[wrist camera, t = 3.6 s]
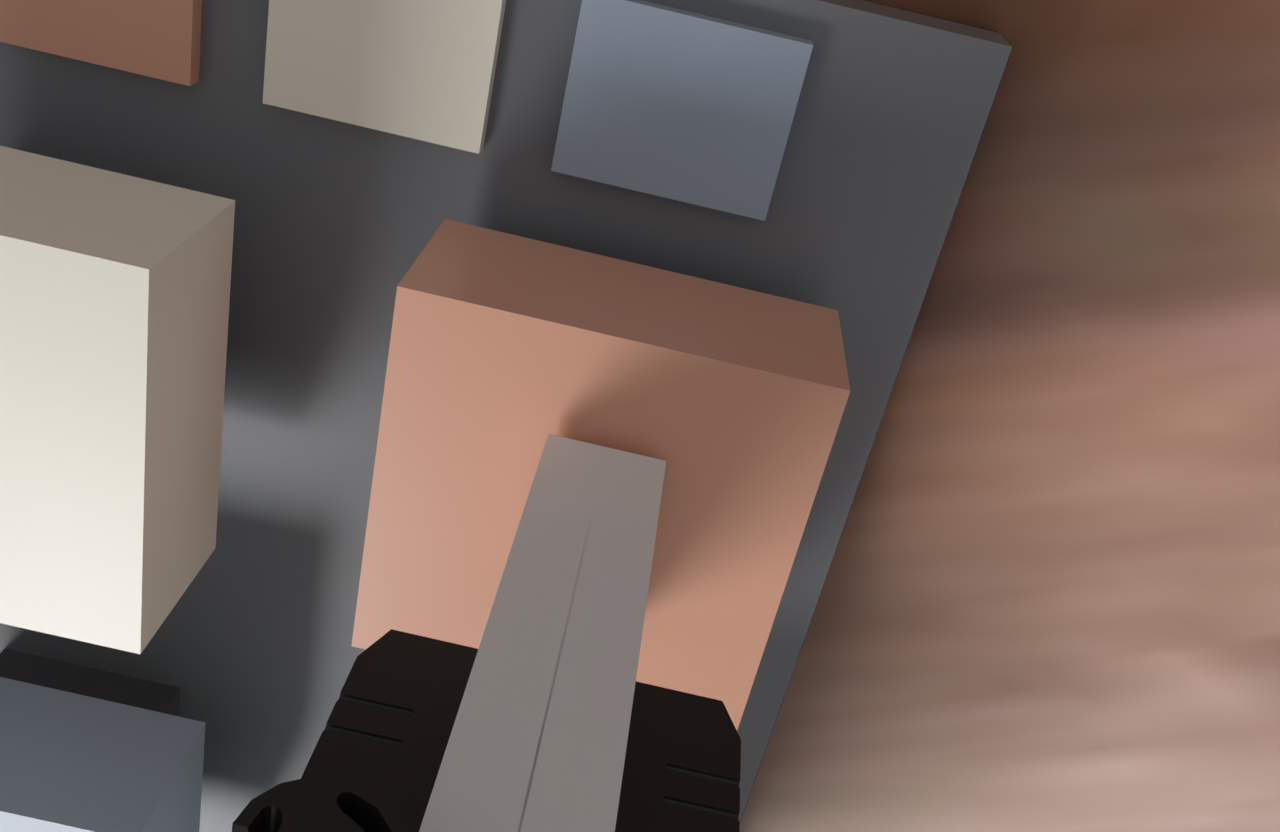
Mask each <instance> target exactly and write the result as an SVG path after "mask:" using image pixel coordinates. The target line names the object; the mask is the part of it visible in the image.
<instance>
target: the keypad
mask: <svg viewBox="0 0 1280 832" xmlns="http://www.w3.org/2000/svg"><path fill="white" fill-rule="evenodd" d="M1011 49H1012V46H1011V45H1010V44H1009V43H1008V42H1007V41H1006V40H1005V39H1004V37H1003V36H1002V35H1001V34H1000V33H998V32H994V31H990V30H986V29H982V28H978V27H973V26H969V25H965V24H961V23H957V22H952V21H948V20H944V19H940V18H936V17H932V16H927V15H923V14H919V13H915V12H911V11H906V10H902V9H898V8H894V7H890V6H886V5H881V4H877V3H873V2H869V1H865V0H0V146H4V147H9V148H13V149H17V150H21V151H26V152H30V153H34V154H39V155H43V156H47V157H52V158H56V159H60V160H65V161H69V162H73V163H77V164H82V165H86V166H90V167H95V168H99V169H103V170H108V171H112V172H116V173H120V174H125V175H129V176H133V177H138V178H142V179H146V180H151V181H155V182H159V183H163V184H168V185H172V186H176V187H181V188H185V189H189V190H194V191H198V192H202V193H207V194H211V195H215V196H219V197H224V198H228V199H232V200H235V215H234V232H233V250H232V267H231V285H230V303H229V320H228V338H227V355H226V373H225V391H224V408H223V426H222V443H221V461H220V478H219V496H218V514H217V531H216V548H215V550H214V551H213V552H212V554H211V555H210V557H209V558H208V560H207V561H206V562H205V564H204V565H203V567H202V568H201V569H200V571H199V572H198V574H197V575H196V577H195V578H194V579H193V581H192V582H191V584H190V585H189V586H188V588H187V589H186V591H185V592H184V593H183V595H182V596H181V598H180V599H179V601H178V602H177V603H176V605H175V606H174V608H173V609H172V610H171V612H170V613H169V615H168V616H167V618H166V619H165V620H164V622H163V623H162V625H161V626H160V627H159V629H158V630H157V632H156V633H155V635H154V636H153V637H152V639H151V640H150V642H149V643H148V644H147V646H146V647H145V649H144V650H143V652H142V653H141V654H136V653H132V652H127V651H123V650H118V649H114V648H109V647H105V646H100V645H96V644H91V643H87V642H83V641H78V640H74V639H69V638H65V637H60V636H56V635H51V634H47V633H42V632H38V631H33V630H29V629H24V628H20V627H15V626H11V625H6V624H2V623H0V677H3V678H8V679H12V680H17V681H21V682H26V683H30V684H35V685H39V686H44V687H48V688H53V689H57V690H62V691H66V692H71V693H75V694H80V695H84V696H89V697H93V698H98V699H102V700H107V701H111V702H116V703H120V704H125V705H129V706H134V707H138V708H143V709H147V710H152V711H156V712H161V713H165V714H170V715H174V716H179V717H183V718H188V719H192V720H197V721H201V722H206V725H205V742H204V760H203V777H202V795H201V813H200V830H199V832H232V823H233V822H234V821H235V820H236V819H237V817H238V816H239V815H240V814H241V812H242V811H243V810H244V809H245V807H246V806H247V805H248V804H249V802H250V801H251V800H252V799H254V798H256V797H257V796H259V795H261V794H262V793H264V792H266V791H268V790H269V789H271V788H273V787H275V786H276V785H278V784H280V783H284V782H288V781H293V780H297V779H301V777H302V775H303V773H304V770H305V768H306V766H307V764H308V762H309V760H310V757H311V755H312V753H313V751H314V749H315V747H316V744H317V742H318V740H319V738H320V736H321V734H322V731H324V730H325V727H326V723H327V721H328V718H329V716H330V714H331V712H332V710H333V708H334V705H335V703H336V701H337V700H339V696H340V692H341V690H342V688H343V686H344V684H345V682H346V679H347V677H348V675H349V673H350V671H351V669H352V666H353V664H354V662H355V660H356V658H357V656H358V655H360V654H361V653H362V652H363V651H365V650H366V649H362V648H357V647H353V646H351V645H352V637H353V629H354V622H355V614H356V606H357V598H358V590H359V582H360V574H361V567H362V559H363V551H364V543H365V535H366V527H367V519H368V512H369V504H370V496H371V488H372V480H373V472H374V464H375V456H376V449H377V441H378V433H379V425H380V417H381V409H382V401H383V394H384V386H385V378H386V370H387V362H388V354H389V346H390V339H391V331H392V323H393V315H394V307H395V299H396V291H397V286H398V284H399V283H400V281H401V280H402V279H403V277H404V276H405V274H406V273H407V272H408V270H409V269H410V267H411V266H412V265H413V263H414V262H415V260H416V259H417V258H418V256H419V255H420V253H421V252H422V251H423V249H424V248H425V246H426V245H427V244H428V242H429V241H430V239H431V238H432V237H433V235H434V234H435V232H436V231H437V230H438V228H439V227H440V225H441V224H442V223H443V221H444V220H445V219H448V220H453V221H457V222H461V223H465V224H470V225H474V226H478V227H483V228H487V229H491V230H496V231H500V232H504V233H508V234H513V235H517V236H521V237H526V238H530V239H534V240H538V241H543V242H547V243H551V244H556V245H560V246H564V247H568V248H573V249H577V250H581V251H586V252H590V253H594V254H599V255H603V256H607V257H611V258H616V259H620V260H624V261H629V262H633V263H637V264H641V265H646V266H650V267H654V268H659V269H663V270H667V271H671V272H676V273H680V274H684V275H689V276H693V277H697V278H702V279H706V280H710V281H714V282H719V283H723V284H727V285H732V286H736V287H740V288H744V289H749V290H753V291H757V292H762V293H766V294H770V295H775V296H779V297H783V298H787V299H792V300H796V301H800V302H805V303H809V304H813V305H817V306H822V307H826V308H830V309H835V310H838V313H839V320H840V326H841V333H842V339H843V346H844V352H845V359H846V365H847V372H848V378H849V385H850V394H849V397H848V400H847V403H846V406H845V409H844V412H843V415H842V418H841V421H840V424H839V427H838V430H837V433H836V436H835V439H834V442H833V445H832V448H831V451H830V454H829V457H828V460H827V463H826V466H825V469H824V472H823V475H822V478H821V481H820V484H819V487H818V490H817V493H816V496H815V499H814V502H813V505H812V508H811V511H810V514H809V517H808V520H807V523H806V526H805V529H804V532H803V535H802V538H801V541H800V544H799V547H798V550H797V553H796V556H795V559H794V562H793V565H792V568H791V571H790V574H789V577H788V580H787V583H786V586H785V589H784V592H783V595H782V598H781V601H780V604H779V607H778V610H777V613H776V616H775V619H774V622H773V625H772V628H771V631H770V634H769V637H768V640H767V643H766V646H765V649H764V652H763V655H762V658H761V661H760V664H759V667H758V670H757V673H756V676H755V679H754V682H753V685H752V688H751V691H750V694H749V697H748V700H747V703H746V706H745V709H744V712H743V715H742V718H741V721H740V724H739V727H738V730H737V732H738V734H739V737H740V739H741V772H740V783H739V788H740V813H739V818H738V821H739V824H740V821H741V818H742V815H743V812H744V809H745V807H746V804H747V801H748V798H749V795H750V792H751V790H752V787H753V784H754V781H755V778H756V775H757V772H758V770H759V767H760V764H761V761H762V758H763V755H764V753H765V750H766V747H767V744H768V741H769V738H770V735H771V733H772V730H773V727H774V724H775V721H776V718H777V716H778V713H779V710H780V707H781V704H782V701H783V698H784V696H785V693H786V690H787V687H788V684H789V681H790V679H791V676H792V673H793V670H794V667H795V664H796V661H797V659H798V656H799V653H800V650H801V647H802V644H803V642H804V639H805V636H806V633H807V630H808V627H809V624H810V622H811V619H812V616H813V613H814V610H815V607H816V605H817V602H818V599H819V596H820V593H821V590H822V587H823V585H824V582H825V579H826V576H827V573H828V570H829V568H830V565H831V562H832V559H833V556H834V553H835V550H836V548H837V545H838V542H839V539H840V536H841V533H842V531H843V528H844V525H845V522H846V519H847V516H848V513H849V511H850V508H851V505H852V502H853V499H854V496H855V494H856V491H857V488H858V485H859V482H860V479H861V476H862V474H863V471H864V468H865V465H866V462H867V459H868V457H869V454H870V451H871V448H872V445H873V442H874V439H875V437H876V434H877V431H878V428H879V425H880V422H881V419H882V417H883V414H884V411H885V408H886V405H887V402H888V400H889V397H890V394H891V391H892V388H893V385H894V382H895V380H896V377H897V374H898V371H899V368H900V365H901V363H902V360H903V357H904V354H905V351H906V348H907V345H908V343H909V340H910V337H911V334H912V331H913V328H914V326H915V323H916V320H917V317H918V314H919V311H920V308H921V306H922V303H923V300H924V297H925V294H926V291H927V289H928V286H929V283H930V280H931V277H932V274H933V271H934V269H935V266H936V263H937V260H938V257H939V254H940V252H941V249H942V246H943V243H944V240H945V237H946V234H947V232H948V229H949V226H950V223H951V220H952V217H953V215H954V212H955V209H956V206H957V203H958V200H959V197H960V195H961V192H962V189H963V186H964V183H965V180H966V178H967V175H968V172H969V169H970V166H971V163H972V160H973V158H974V155H975V152H976V149H977V146H978V143H979V141H980V138H981V135H982V132H983V129H984V126H985V123H986V121H987V118H988V115H989V112H990V109H991V106H992V104H993V101H994V98H995V95H996V92H997V89H998V86H999V84H1000V81H1001V78H1002V75H1003V72H1004V69H1005V67H1006V64H1007V61H1008V58H1009V55H1010V52H1011Z"/></svg>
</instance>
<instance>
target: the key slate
mask: <svg viewBox="0 0 1280 832" xmlns="http://www.w3.org/2000/svg"><path fill="white" fill-rule="evenodd" d="M205 725H206V722H201V721H197V720H192V719H188V718H183V717H179V716H174V715H170V714H165V713H161V712H156V711H152V710H147V709H143V708H138V707H134V706H129V705H125V704H120V703H116V702H111V701H107V700H102V699H98V698H93V697H89V696H84V695H80V694H75V693H71V692H66V691H62V690H57V689H53V688H48V687H44V686H39V685H35V684H30V683H26V682H21V681H17V680H12V679H8V678H3V677H0V832H199V830H200V813H201V795H202V777H203V760H204V742H205Z"/></svg>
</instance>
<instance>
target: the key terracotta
mask: <svg viewBox="0 0 1280 832" xmlns="http://www.w3.org/2000/svg"><path fill="white" fill-rule="evenodd" d="M849 394H850V385H849V378H848V372H847V365H846V359H845V352H844V346H843V339H842V333H841V326H840V320H839V313H838V310H835V309H830V308H826V307H822V306H817V305H813V304H809V303H805V302H800V301H796V300H792V299H787V298H783V297H779V296H775V295H770V294H766V293H762V292H757V291H753V290H749V289H744V288H740V287H736V286H732V285H727V284H723V283H719V282H714V281H710V280H706V279H702V278H697V277H693V276H689V275H684V274H680V273H676V272H671V271H667V270H663V269H659V268H654V267H650V266H646V265H641V264H637V263H633V262H629V261H624V260H620V259H616V258H611V257H607V256H603V255H599V254H594V253H590V252H586V251H581V250H577V249H573V248H568V247H564V246H560V245H556V244H551V243H547V242H543V241H538V240H534V239H530V238H526V237H521V236H517V235H513V234H508V233H504V232H500V231H496V230H491V229H487V228H483V227H478V226H474V225H470V224H465V223H461V222H457V221H453V220H448V219H445V220H444V221H443V223H442V224H441V225H440V227H439V228H438V230H437V231H436V232H435V234H434V235H433V237H432V238H431V239H430V241H429V242H428V244H427V245H426V246H425V248H424V249H423V251H422V252H421V253H420V255H419V256H418V258H417V259H416V260H415V262H414V263H413V265H412V266H411V267H410V269H409V270H408V272H407V273H406V274H405V276H404V277H403V279H402V280H401V281H400V283H399V284H398V286H397V291H396V299H395V307H394V315H393V323H392V331H391V339H390V346H389V354H388V362H387V370H386V378H385V386H384V394H383V401H382V409H381V417H380V425H379V433H378V441H377V449H376V456H375V464H374V472H373V480H372V488H371V496H370V504H369V512H368V519H367V527H366V535H365V543H364V551H363V559H362V567H361V574H360V582H359V590H358V598H357V606H356V614H355V622H354V629H353V637H352V645H351V646H353V647H357V648H362V649H367V648H368V647H370V646H371V645H372V644H373V643H375V642H376V641H377V640H378V639H380V638H381V637H382V636H383V635H385V634H386V633H387V632H388V631H390V630H391V629H393V630H397V631H402V632H406V633H411V634H415V635H419V636H424V637H428V638H433V639H437V640H441V641H446V642H450V643H455V644H459V645H463V646H468V647H472V648H477V649H479V646H480V643H481V640H482V637H483V633H484V630H485V627H486V624H487V621H488V618H489V615H490V612H491V609H492V606H493V603H494V600H495V597H496V593H497V590H498V587H499V584H500V581H501V578H502V575H503V572H504V569H505V566H506V563H507V560H508V557H509V554H510V550H511V547H512V544H513V541H514V538H515V535H516V532H517V529H518V526H519V523H520V520H521V517H522V514H523V510H524V507H525V504H526V501H527V498H528V495H529V492H530V489H531V486H532V483H533V480H534V477H535V474H536V471H537V467H538V464H539V461H540V458H541V455H542V452H543V449H544V446H545V443H546V440H547V437H548V434H552V435H556V436H561V437H565V438H569V439H574V440H578V441H582V442H587V443H591V444H595V445H600V446H604V447H608V448H613V449H617V450H621V451H626V452H630V453H634V454H639V455H643V456H647V457H652V458H656V459H660V460H665V461H666V467H665V474H664V481H663V488H662V496H661V503H660V510H659V517H658V524H657V532H656V539H655V546H654V553H653V560H652V568H651V575H650V582H649V589H648V596H647V604H646V611H645V618H644V625H643V632H642V640H641V647H640V654H639V661H638V668H637V676H636V681H637V682H641V683H645V684H650V685H654V686H659V687H663V688H667V689H672V690H676V691H681V692H685V693H690V694H694V695H698V696H703V697H707V698H712V699H716V700H720V701H723V703H724V705H725V707H726V709H727V711H728V714H729V716H730V718H731V720H732V722H733V724H734V726H735V728H736V730H738V727H739V724H740V721H741V718H742V715H743V712H744V709H745V706H746V703H747V700H748V697H749V694H750V691H751V688H752V685H753V682H754V679H755V676H756V673H757V670H758V667H759V664H760V661H761V658H762V655H763V652H764V649H765V646H766V643H767V640H768V637H769V634H770V631H771V628H772V625H773V622H774V619H775V616H776V613H777V610H778V607H779V604H780V601H781V598H782V595H783V592H784V589H785V586H786V583H787V580H788V577H789V574H790V571H791V568H792V565H793V562H794V559H795V556H796V553H797V550H798V547H799V544H800V541H801V538H802V535H803V532H804V529H805V526H806V523H807V520H808V517H809V514H810V511H811V508H812V505H813V502H814V499H815V496H816V493H817V490H818V487H819V484H820V481H821V478H822V475H823V472H824V469H825V466H826V463H827V460H828V457H829V454H830V451H831V448H832V445H833V442H834V439H835V436H836V433H837V430H838V427H839V424H840V421H841V418H842V415H843V412H844V409H845V406H846V403H847V400H848V397H849Z"/></svg>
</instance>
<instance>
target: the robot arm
mask: <svg viewBox="0 0 1280 832" xmlns="http://www.w3.org/2000/svg"><path fill="white" fill-rule="evenodd" d="M665 467H666V461H665V460H660V459H656V458H652V457H647V456H643V455H639V454H634V453H630V452H626V451H621V450H617V449H613V448H608V447H604V446H600V445H595V444H591V443H587V442H582V441H578V440H574V439H569V438H565V437H561V436H556V435H552V434H548V437H547V440H546V443H545V446H544V449H543V452H542V455H541V458H540V461H539V464H538V467H537V471H536V474H535V477H534V480H533V483H532V486H531V489H530V492H529V495H528V498H527V501H526V504H525V507H524V510H523V514H522V517H521V520H520V523H519V526H518V529H517V532H516V535H515V538H514V541H513V544H512V547H511V550H510V554H509V557H508V560H507V563H506V566H505V569H504V572H503V575H502V578H501V581H500V584H499V587H498V590H497V593H496V597H495V600H494V603H493V606H492V609H491V612H490V615H489V618H488V621H487V624H486V627H485V630H484V633H483V637H482V640H481V643H480V646H479V649H477V648H472V647H468V646H463V645H459V644H455V643H450V642H446V641H441V640H437V639H433V638H428V637H424V636H419V635H415V634H411V633H406V632H402V631H397V630H393V629H391V630H390V631H388V632H387V633H386V634H385V635H383V636H382V637H381V638H380V639H378V640H377V641H376V642H375V643H373V644H372V645H371V646H370V647H368V648H367V649H366V650H365V651H363V652H362V653H361V654H360V655H358V656H357V658H356V660H355V662H354V664H353V666H352V669H351V671H350V673H349V675H348V677H347V679H346V682H345V684H344V686H343V688H342V690H341V692H340V696H339V700H337V701H336V703H335V705H334V708H333V710H332V712H331V714H330V716H329V718H328V721H327V723H326V727H325V730H324V731H322V734H321V736H320V738H319V740H318V742H317V744H316V747H315V749H314V751H313V753H312V755H311V757H310V760H309V762H308V764H307V766H306V768H305V770H304V773H303V775H302V777H301V779H297V780H293V781H288V782H284V783H280V784H278V785H276V786H275V787H273V788H271V789H269V790H268V791H266V792H264V793H262V794H261V795H259V796H257V797H256V798H254V799H252V800H251V801H250V802H249V804H248V805H247V806H246V807H245V809H244V810H243V811H242V812H241V814H240V815H239V816H238V817H237V819H236V820H235V821H234V822H233V823H232V832H739V821H738V818H739V813H740V788H739V783H740V772H741V739H740V737H739V734H738V732H737V730H736V728H735V726H734V724H733V722H732V720H731V718H730V716H729V714H728V711H727V709H726V707H725V705H724V703H723V701H720V700H716V699H712V698H707V697H703V696H698V695H694V694H690V693H685V692H681V691H676V690H672V689H667V688H663V687H659V686H654V685H650V684H645V683H641V682H637V681H636V676H637V668H638V661H639V654H640V647H641V640H642V632H643V625H644V618H645V611H646V604H647V596H648V589H649V582H650V575H651V568H652V560H653V553H654V546H655V539H656V532H657V524H658V517H659V510H660V503H661V496H662V488H663V481H664V474H665Z"/></svg>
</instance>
